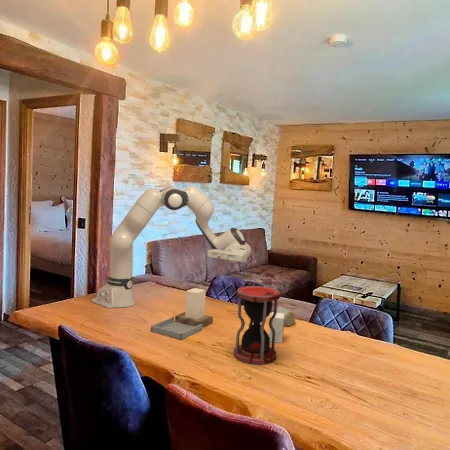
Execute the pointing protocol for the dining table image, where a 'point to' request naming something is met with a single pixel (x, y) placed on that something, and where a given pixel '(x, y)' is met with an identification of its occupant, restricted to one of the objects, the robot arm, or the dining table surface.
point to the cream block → (195, 303)
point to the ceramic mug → (287, 316)
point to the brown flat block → (194, 320)
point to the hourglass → (256, 325)
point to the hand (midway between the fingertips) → (219, 257)
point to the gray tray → (175, 329)
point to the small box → (278, 327)
